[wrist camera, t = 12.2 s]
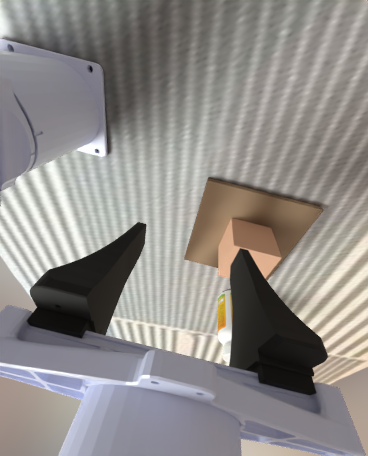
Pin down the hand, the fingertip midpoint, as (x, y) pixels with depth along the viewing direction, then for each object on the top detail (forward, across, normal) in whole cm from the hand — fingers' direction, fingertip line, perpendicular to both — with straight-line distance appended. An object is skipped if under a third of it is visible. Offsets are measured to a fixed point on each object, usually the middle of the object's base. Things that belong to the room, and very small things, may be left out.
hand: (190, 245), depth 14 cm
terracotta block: (+9, -7, +5) cm, 12 cm away
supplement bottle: (+10, -11, +19) cm, 24 cm away
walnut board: (+10, -7, +5) cm, 13 cm away
